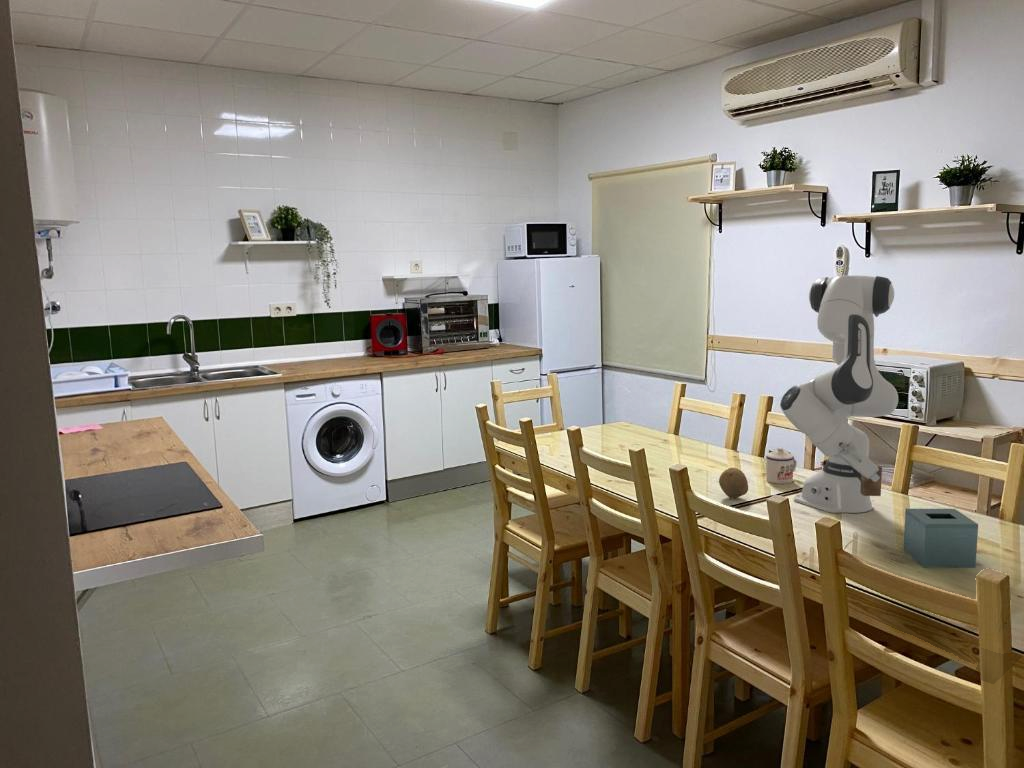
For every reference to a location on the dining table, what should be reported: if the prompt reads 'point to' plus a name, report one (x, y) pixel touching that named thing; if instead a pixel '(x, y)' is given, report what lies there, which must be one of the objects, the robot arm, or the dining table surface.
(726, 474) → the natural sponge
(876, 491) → the walnut block
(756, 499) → the dining table surface
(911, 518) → the blue-gray slotted box
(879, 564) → the dining table surface
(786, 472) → the teacup with lid
